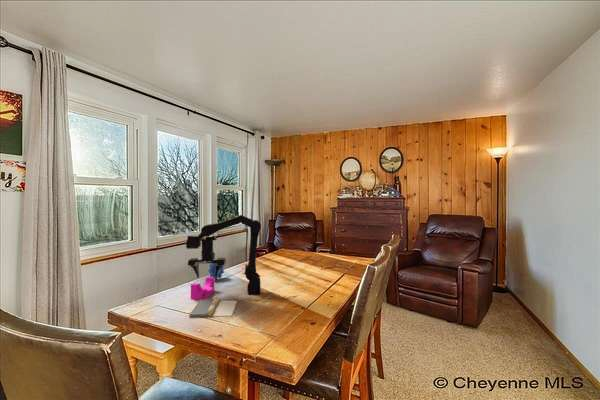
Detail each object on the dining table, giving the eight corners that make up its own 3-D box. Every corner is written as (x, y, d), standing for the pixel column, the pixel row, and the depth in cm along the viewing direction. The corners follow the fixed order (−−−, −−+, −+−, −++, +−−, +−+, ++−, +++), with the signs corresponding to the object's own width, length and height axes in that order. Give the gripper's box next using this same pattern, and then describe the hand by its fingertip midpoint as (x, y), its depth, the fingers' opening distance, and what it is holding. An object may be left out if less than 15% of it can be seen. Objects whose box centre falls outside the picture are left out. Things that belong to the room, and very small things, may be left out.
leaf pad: (237, 301, 141) (237, 300, 141) (231, 316, 124) (231, 315, 124) (219, 301, 141) (219, 301, 141) (212, 316, 123) (212, 315, 123)
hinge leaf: (219, 301, 141) (219, 296, 141) (211, 316, 123) (211, 311, 123) (200, 301, 140) (200, 297, 140) (189, 317, 122) (189, 311, 122)
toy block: (201, 300, 142) (201, 286, 142) (190, 299, 144) (190, 284, 144) (218, 291, 156) (218, 277, 156) (208, 290, 158) (208, 276, 158)
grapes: (212, 282, 170) (213, 263, 170) (205, 280, 174) (206, 261, 174) (228, 278, 180) (228, 259, 180) (221, 276, 184) (221, 258, 184)
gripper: (227, 245, 159) (227, 273, 159) (193, 245, 157) (193, 273, 157) (224, 249, 148) (224, 279, 148) (187, 249, 146) (187, 279, 146)
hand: (207, 277), depth 150 cm, fingers open, 9 cm apart
